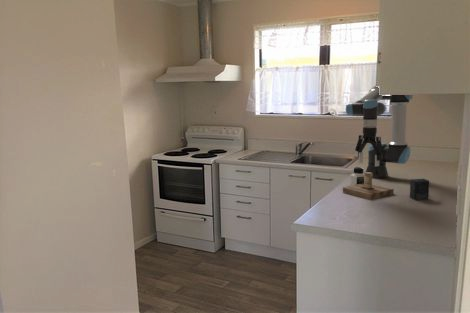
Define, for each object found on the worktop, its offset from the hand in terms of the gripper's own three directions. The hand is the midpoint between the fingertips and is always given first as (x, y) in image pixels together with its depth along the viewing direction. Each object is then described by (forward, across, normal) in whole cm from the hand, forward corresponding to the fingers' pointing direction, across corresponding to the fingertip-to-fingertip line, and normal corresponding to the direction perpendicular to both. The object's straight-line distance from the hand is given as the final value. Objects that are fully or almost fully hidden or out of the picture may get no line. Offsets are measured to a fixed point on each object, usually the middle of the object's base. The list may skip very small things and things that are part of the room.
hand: (368, 164), depth 225 cm
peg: (+17, 0, 0) cm, 17 cm away
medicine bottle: (+17, -15, +9) cm, 25 cm away
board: (+17, 0, 0) cm, 17 cm away
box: (+17, +24, +13) cm, 32 cm away
